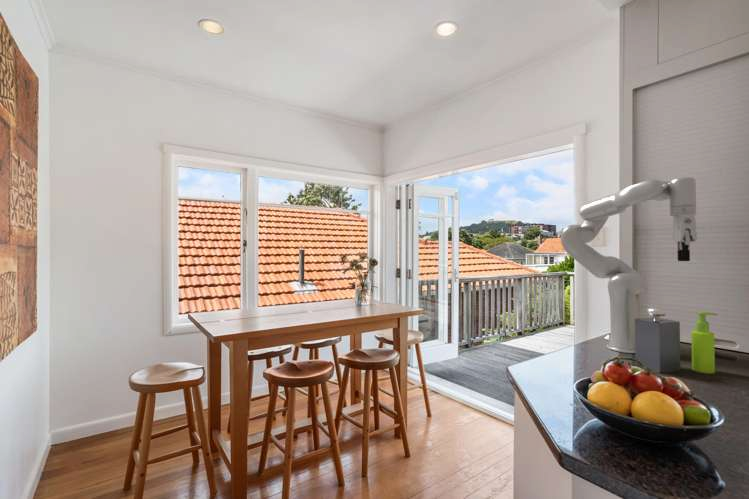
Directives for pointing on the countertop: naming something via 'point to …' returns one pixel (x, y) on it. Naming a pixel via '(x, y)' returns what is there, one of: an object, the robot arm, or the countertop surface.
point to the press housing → (658, 344)
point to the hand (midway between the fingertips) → (683, 260)
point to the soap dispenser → (703, 346)
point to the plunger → (656, 313)
